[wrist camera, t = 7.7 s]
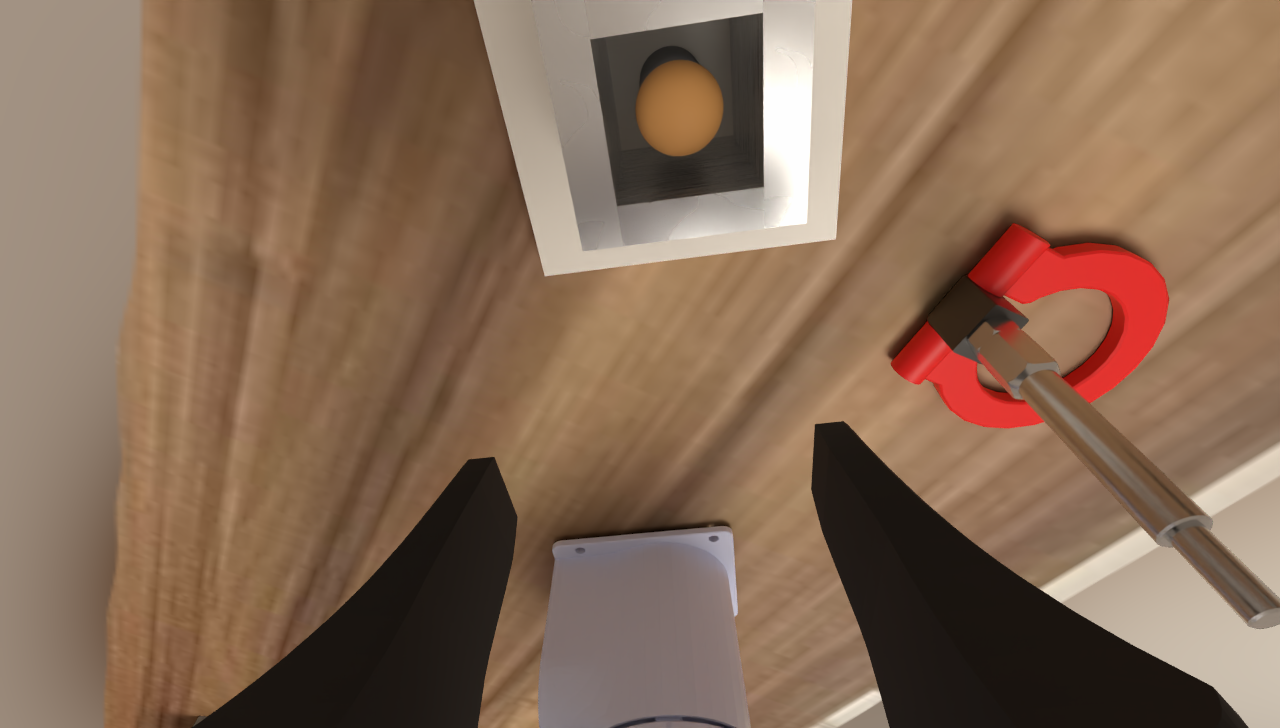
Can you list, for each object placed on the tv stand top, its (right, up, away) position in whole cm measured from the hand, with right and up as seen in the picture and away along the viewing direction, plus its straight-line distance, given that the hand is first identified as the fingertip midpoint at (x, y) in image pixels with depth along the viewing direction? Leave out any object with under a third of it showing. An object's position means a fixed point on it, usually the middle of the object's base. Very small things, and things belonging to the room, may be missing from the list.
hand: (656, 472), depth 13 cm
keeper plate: (+1, +11, +4) cm, 12 cm away
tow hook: (+15, +4, +10) cm, 19 cm away
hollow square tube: (+1, +11, +3) cm, 11 cm away
